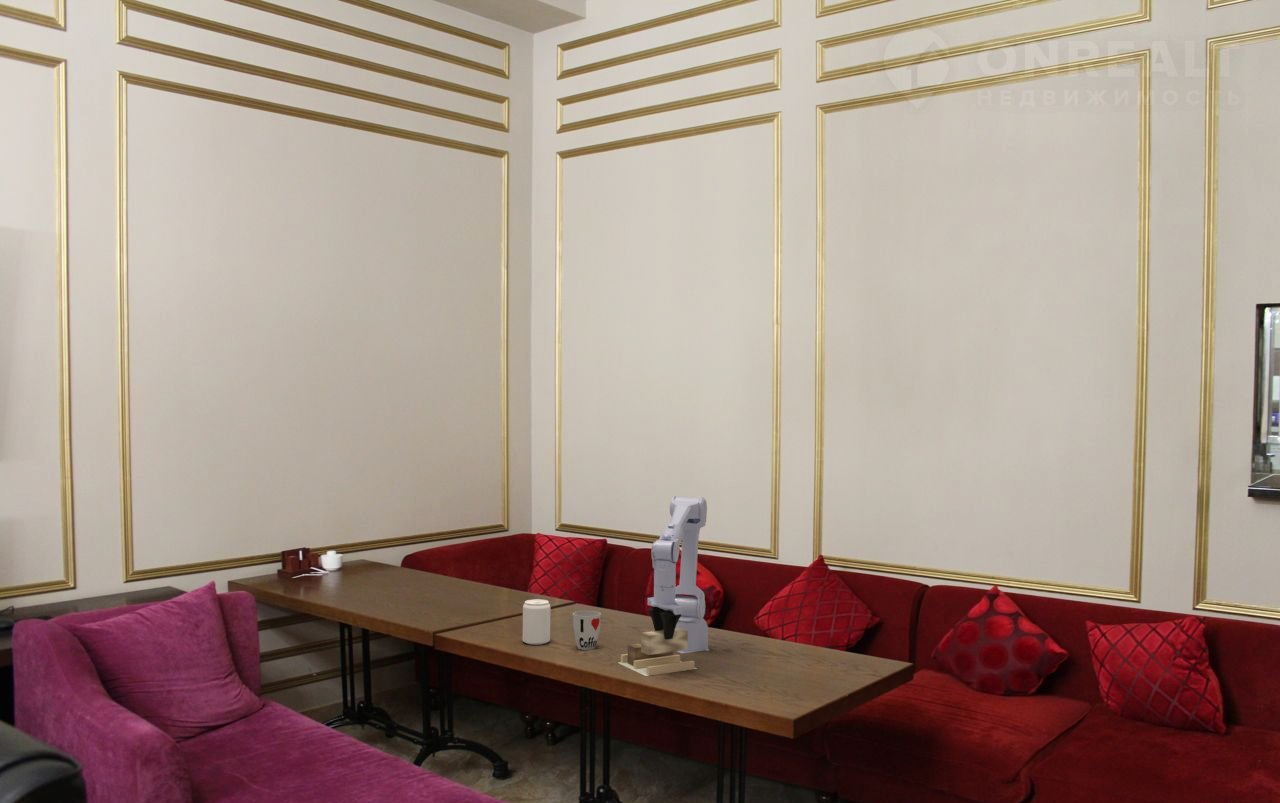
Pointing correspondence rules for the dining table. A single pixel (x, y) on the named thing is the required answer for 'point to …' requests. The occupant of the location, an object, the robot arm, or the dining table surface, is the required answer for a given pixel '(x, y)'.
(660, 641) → the beige wooden block
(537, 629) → the beverage can
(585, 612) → the cup
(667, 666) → the slot board
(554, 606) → the dining table surface
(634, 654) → the brown wooden block
